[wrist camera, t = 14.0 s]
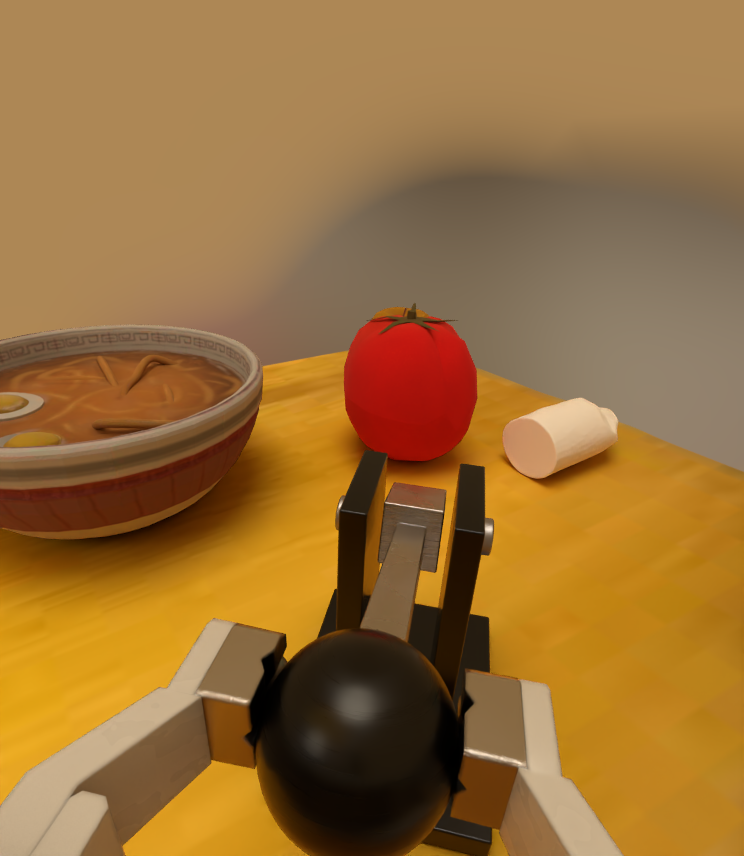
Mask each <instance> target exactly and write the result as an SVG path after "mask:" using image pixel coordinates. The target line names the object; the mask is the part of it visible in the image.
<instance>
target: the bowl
mask: <svg viewBox="0 0 744 856" xmlns="http://www.w3.org/2000/svg"><path fill="white" fill-rule="evenodd" d="M262 386H263V371H262V363H261V361H260V360H259V359H258V357H257V356H256V354H255V353H254V352H253V351H252V350H250V349H249V348H248V347H246V346H245V345H243V344H242V343H240V342H237V341H235V340H233V339H230V338H228V337H225V336H221V335H218V334H214V333H211V332H206V331H200V330H195V329H189V328H181V327H171V326H158V325H106V326H90V327H79V328H70V329H60V330H53V331H46V332H40V333H34V334H27V335H22V336H18V337H13V338H9V339H3V340H0V528H2V529H5V530H9V531H12V532H16V533H19V534H22V535H27V536H33V537H39V538H45V539H83V538H94V537H104V536H111V535H116V534H121V533H126V532H130V531H133V530H137V529H140V528H143V527H146V526H149V525H151V524H154V523H156V522H158V521H160V520H163V519H165V518H167V517H169V516H172V515H174V514H176V513H178V512H180V511H182V510H183V509H185V508H187V507H188V506H190V505H192V504H193V503H195V502H197V501H198V500H199V499H200V498H201V497H203V496H204V495H205V494H206V493H208V492H209V491H210V490H211V489H212V488H213V487H214V486H215V485H216V484H217V483H218V482H219V481H220V479H221V478H222V477H223V476H224V475H225V474H226V473H227V472H228V471H229V469H230V468H231V467H232V466H233V464H234V463H235V462H236V461H237V459H238V457H239V455H240V454H241V452H242V450H243V448H244V446H245V445H246V443H247V441H248V439H249V437H250V435H251V432H252V430H253V427H254V425H255V421H256V418H257V414H258V411H259V404H260V402H261V400H262Z"/></svg>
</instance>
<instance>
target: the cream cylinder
mask: <svg viewBox="0 0 744 856" xmlns="http://www.w3.org/2000/svg"><path fill="white" fill-rule="evenodd" d="M617 425H618V420H617V418H616V415H614V413H613V411H611V410H609V409H608V408H599V407H598V406H597V405H595V404H594V403H591V402H589V401H587V400H585V399H584V398H577V399H572V400H569V401H566V402H562V403H559V404H556V405H552V406H548V407H545V408H541V409H538V410H536V411H535V412H532V413H530V414H528V415H525V416H522V417H520V418H516V419H515V420H512V421H510V422H509V423H508V424H507V425H506V426H505V428H504V431H503V445H504V449H505V453H506V455H507V457H508V459H509V460H510V462H511V464H512V465H513V466H514V467H515V468H516V469H517V470H518V471H519V472H520V473H522V474H524V475H525V476H529V477H531V478H536V479H538V478H545V477H547V476H549V475H551V474H553V473H555V472H557V471H559V470H562V469H564V468H566V467H569V466H571V465H574V464H576V463H578V462H580V461H583V460H586V459H587V458H590V457H592V456H594V455H596V454H599V453H601V452H603V451H604V450H605V449H607V448H608V447H610V446H611V445H613V444H614V443H616V442H617V440H618V436H617Z"/></svg>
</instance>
